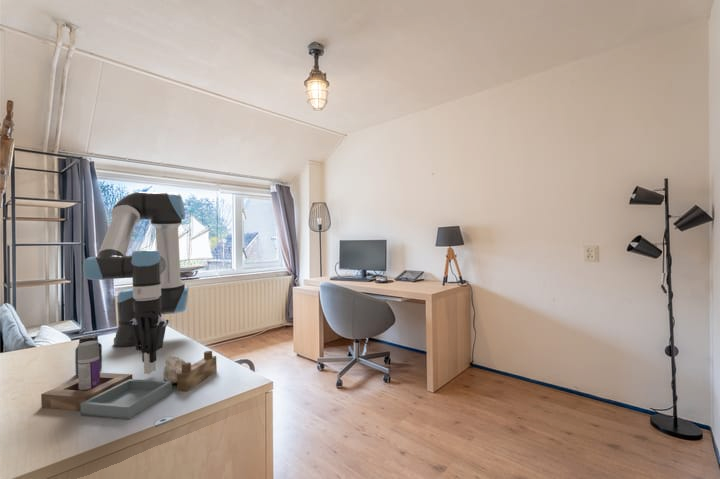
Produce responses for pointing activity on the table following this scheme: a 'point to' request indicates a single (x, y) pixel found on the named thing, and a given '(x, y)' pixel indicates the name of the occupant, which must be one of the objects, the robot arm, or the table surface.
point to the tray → (126, 399)
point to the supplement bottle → (85, 339)
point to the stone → (172, 369)
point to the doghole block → (80, 392)
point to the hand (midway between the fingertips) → (149, 372)
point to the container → (88, 365)
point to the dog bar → (196, 372)
